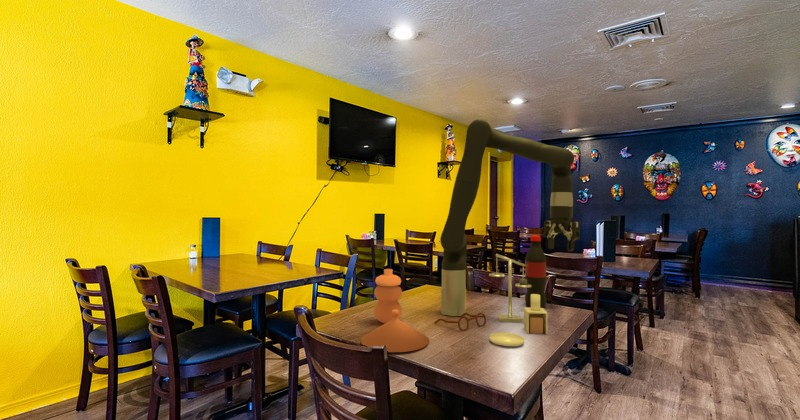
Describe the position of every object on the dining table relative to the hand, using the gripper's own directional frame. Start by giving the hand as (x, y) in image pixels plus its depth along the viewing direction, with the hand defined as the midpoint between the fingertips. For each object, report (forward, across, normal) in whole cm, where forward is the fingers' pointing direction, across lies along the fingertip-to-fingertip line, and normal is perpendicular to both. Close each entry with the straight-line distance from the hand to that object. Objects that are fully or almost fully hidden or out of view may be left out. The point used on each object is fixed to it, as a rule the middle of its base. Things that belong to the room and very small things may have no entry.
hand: (560, 249), depth 137 cm
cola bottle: (+26, -20, +9) cm, 34 cm away
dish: (+26, +9, -32) cm, 43 cm away
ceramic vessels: (+27, -14, -60) cm, 67 cm away
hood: (+26, +5, -16) cm, 31 cm away
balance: (+26, -9, -15) cm, 31 cm away
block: (+26, +5, -16) cm, 31 cm away
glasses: (+27, -13, -34) cm, 45 cm away
